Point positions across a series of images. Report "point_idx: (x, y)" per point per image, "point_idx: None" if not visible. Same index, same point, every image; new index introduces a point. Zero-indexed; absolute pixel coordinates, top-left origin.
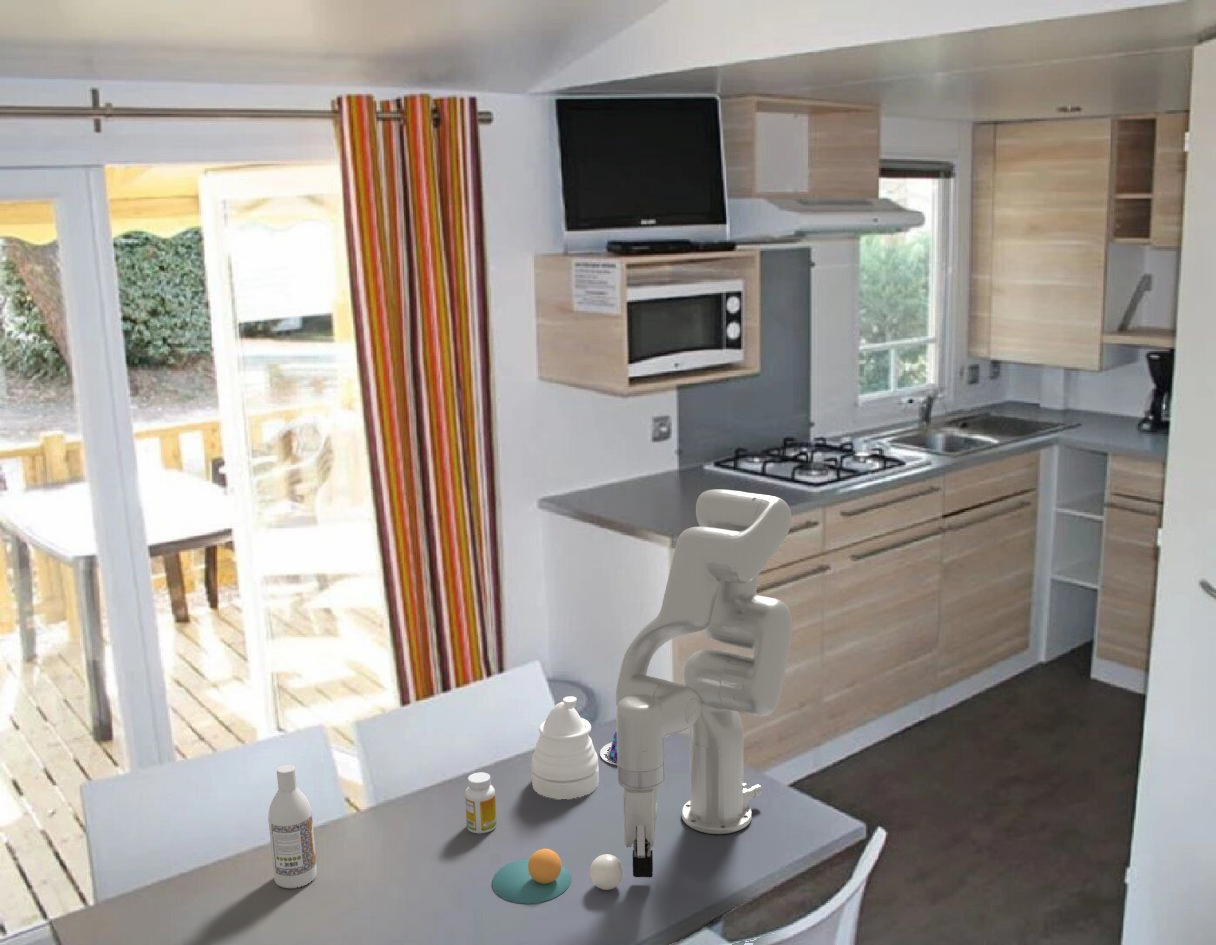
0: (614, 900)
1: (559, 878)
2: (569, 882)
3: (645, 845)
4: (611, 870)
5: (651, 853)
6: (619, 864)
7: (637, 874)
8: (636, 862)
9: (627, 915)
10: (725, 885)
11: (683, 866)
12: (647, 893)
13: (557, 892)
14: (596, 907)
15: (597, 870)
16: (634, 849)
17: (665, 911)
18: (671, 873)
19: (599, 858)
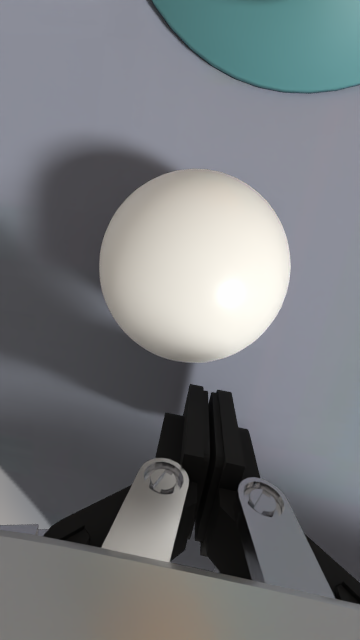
0: None
1: (307, 19)
2: (258, 79)
3: (224, 563)
4: (108, 297)
5: (200, 540)
6: (158, 353)
7: (186, 403)
8: (183, 439)
9: (5, 315)
10: None
11: None
12: (133, 401)
13: (180, 2)
14: (58, 202)
15: (125, 208)
16: (117, 517)
17: (27, 434)
18: None
19: (190, 228)
